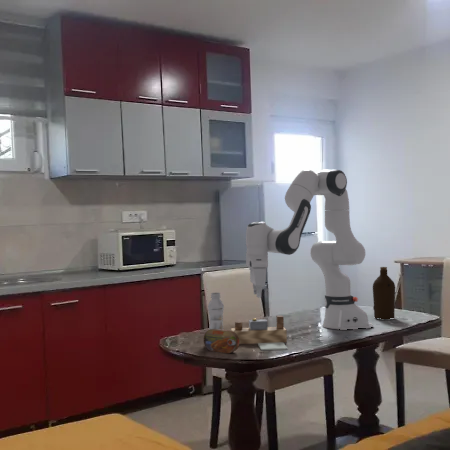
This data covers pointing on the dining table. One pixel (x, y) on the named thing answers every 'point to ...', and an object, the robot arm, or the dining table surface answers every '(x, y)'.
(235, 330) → the body
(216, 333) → the tin
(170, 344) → the dining table surface
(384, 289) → the olive oil
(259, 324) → the lever cap
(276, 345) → the mat
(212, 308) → the plastic bottle
